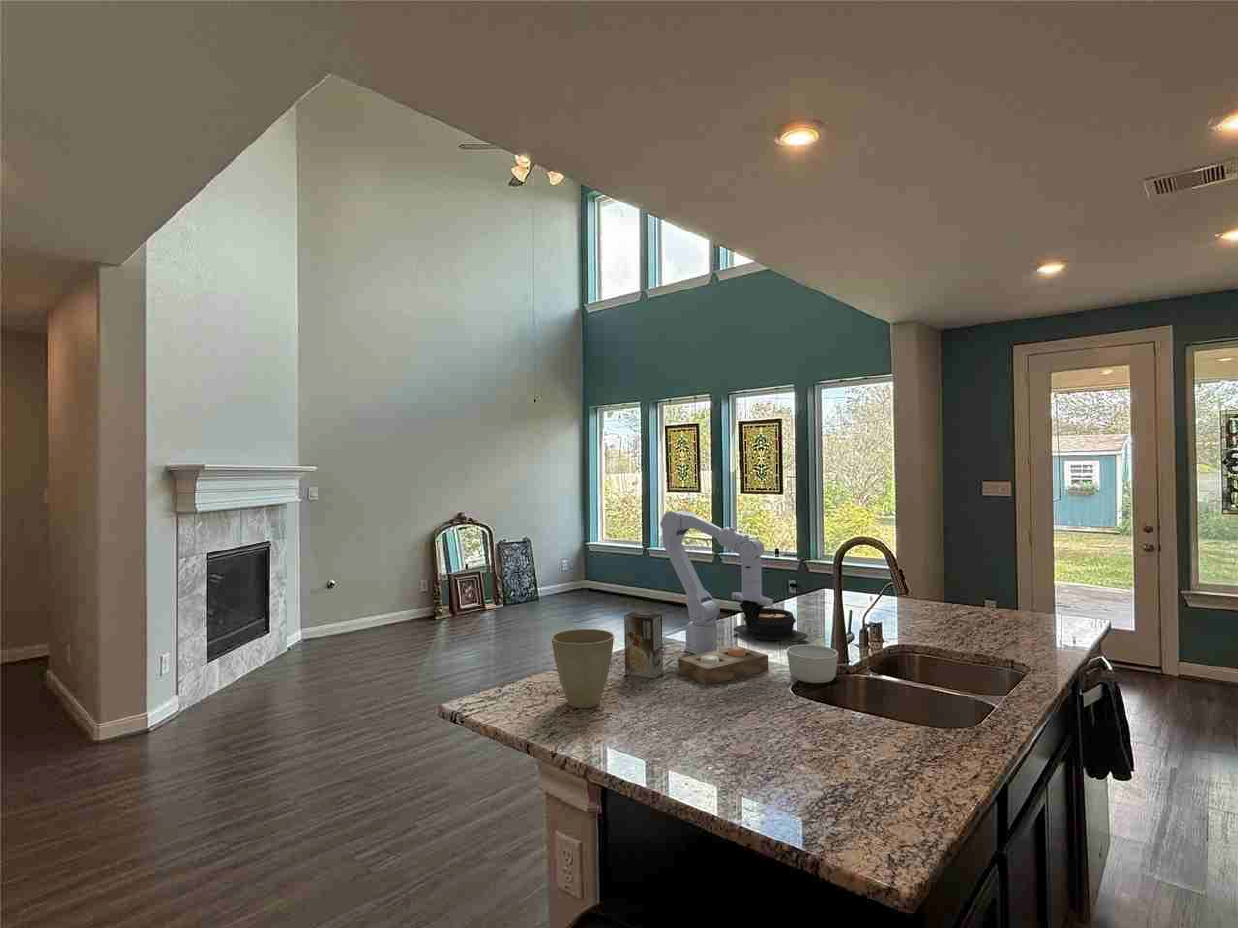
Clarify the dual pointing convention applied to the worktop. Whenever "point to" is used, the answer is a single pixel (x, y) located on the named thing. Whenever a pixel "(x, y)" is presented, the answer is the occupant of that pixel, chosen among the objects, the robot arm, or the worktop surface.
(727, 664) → the button box
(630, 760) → the worktop surface
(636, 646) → the coffee box
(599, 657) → the plant pot
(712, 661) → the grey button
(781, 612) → the casserole
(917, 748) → the worktop surface
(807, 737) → the worktop surface
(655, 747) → the worktop surface
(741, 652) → the terracotta button
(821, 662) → the ramekin
